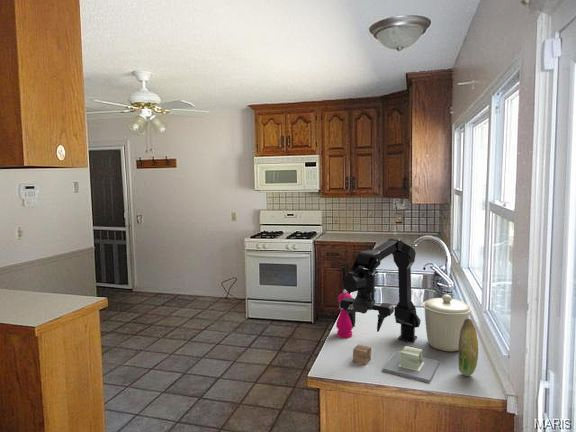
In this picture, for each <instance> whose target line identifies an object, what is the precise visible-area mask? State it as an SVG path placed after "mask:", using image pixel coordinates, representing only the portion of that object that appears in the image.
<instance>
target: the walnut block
mask: <svg viewBox="0 0 576 432" xmlns="http://www.w3.org/2000/svg"><path fill="white" fill-rule="evenodd" d="M371 355H372V347H371V346H368V345H365V344H364V345H363V344H359V343H358V344H357V345H356V346H354V348H353V349H352V362H353V363H354V364H355V363H357V364H360V365H363V366H367V365H368V363H369V362H370V361H371V359H372V358H371Z"/></svg>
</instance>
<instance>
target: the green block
mask: <svg viewBox="0 0 576 432" xmlns="http://www.w3.org/2000/svg"><path fill="white" fill-rule="evenodd" d="M422 357H423V349H421V348H416V347H412V346H407V345H405V346H404V347H403V348H402V350H401V366H404V367H408V368H412V369H416V370H418V369H419V367H420V366H421V364H422Z"/></svg>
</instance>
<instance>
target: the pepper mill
mask: <svg viewBox="0 0 576 432" xmlns="http://www.w3.org/2000/svg"><path fill="white" fill-rule="evenodd" d="M337 297H338V298H337V301H338V304H339V306H338V308H339V310H340V311H339V316H338V318H337V320H336V324H335V326H336V329H337V333H336V334H337V337H339V338H343V339H349V338H351V337H353V331H352V330H353V329H354V327H353V326H352V323H351V320H350V317H349V315H348V313H347V312H346V311H344V310H343V308H340V301H341V300H342V299H344V298H345V297H349V298H353V296H352V295H351V294H350V293H349V292H347V291H346V290H345V289H343V291H342V293H340V294H339V295H338V296H337Z"/></svg>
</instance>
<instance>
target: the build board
mask: <svg viewBox="0 0 576 432" xmlns="http://www.w3.org/2000/svg"><path fill="white" fill-rule="evenodd" d="M440 362H441V361H440V360H436V359H432V358H428V357H423V356H422V364H421V366H420V367H419V369H418V370H416V369H412V368H408V367H404V366H401V352H400V351H395V352H394V353H393V354H392V355H391V357H390V358H389V359H388V360H387V362H386V363H385V364H384V365H383V366H382V367H381V372H385V373H387V374H388V373H389V374H392V375H397V376H400V377H404V378H409V379H412V380H417V381H421V382H424V383H428V382H429V383H428V384H430V383H431V381H432V380H433V377H434V375H435V373H436V371H437V369H439V368H438V367H439V366H440Z"/></svg>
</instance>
